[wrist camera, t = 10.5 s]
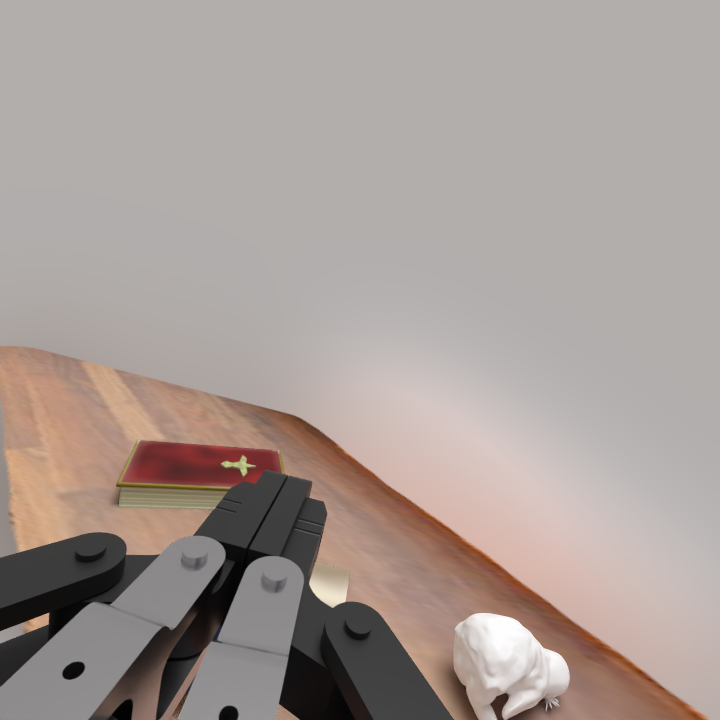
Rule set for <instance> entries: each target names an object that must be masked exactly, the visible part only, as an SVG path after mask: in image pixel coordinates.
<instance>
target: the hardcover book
mask: <svg viewBox="0 0 720 720" xmlns="http://www.w3.org/2000/svg"><path fill="white" fill-rule="evenodd" d="M264 470H270V471H273V472H277V473H281V474H285V473H284V467H283V462H282V457H281V452H280V451H278V450H264V449H251V448H238V447H224V446H211V445H197V444H184V443H171V442H157V441H144V440H137V442H136V444H135V446H134V448H133V450H132V452H131V454H130V457H129V459H128V461H127V463H126V465H125V467H124V469H123V471H122V473H121V476H120V478H119V480H118V482H117V485H116V487H121V488H120V497H119V507H144V508H178V509H213V510H214V508H216V506H217V505H218V503H219V502H220V501H221V500H222V499H223V497H224V496H225V494H226V493H227V492H228V491H229V489H230V488H231V487H233V486H235V485H237V484H239V483H241V482H243V481H246V482H250V483H254V484H255V483H256V482H257V481H258V479H259V478H260V476H261V475H262V473H263V472H264Z"/></svg>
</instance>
